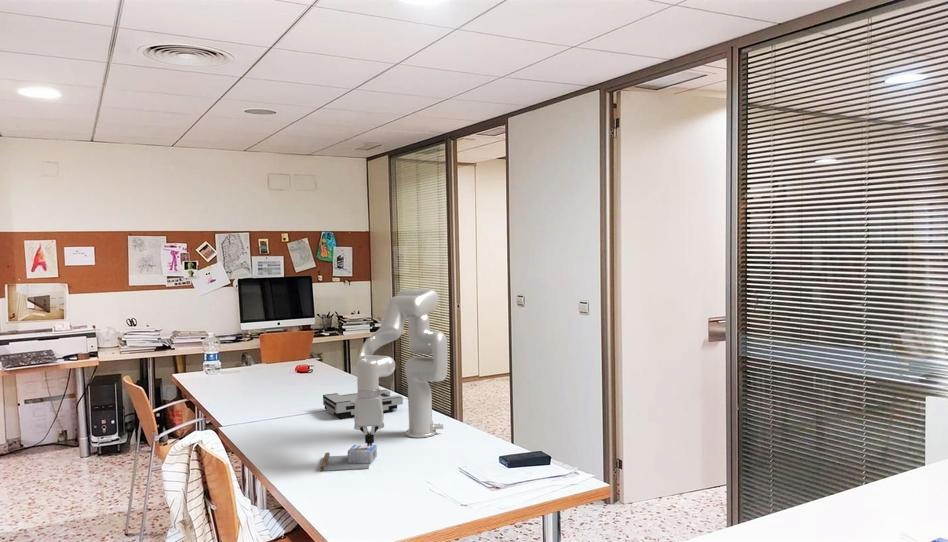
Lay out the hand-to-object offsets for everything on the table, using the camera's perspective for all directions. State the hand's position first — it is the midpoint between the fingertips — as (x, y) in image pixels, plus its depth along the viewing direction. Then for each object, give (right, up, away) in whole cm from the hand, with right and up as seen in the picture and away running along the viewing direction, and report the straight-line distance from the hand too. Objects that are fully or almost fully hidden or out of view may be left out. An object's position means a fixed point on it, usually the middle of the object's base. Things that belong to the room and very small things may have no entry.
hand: (369, 444), depth 242 cm
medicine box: (+2, -4, +1) cm, 4 cm away
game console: (-15, -5, +78) cm, 80 cm away
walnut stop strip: (-16, -7, -1) cm, 17 cm away
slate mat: (-8, -6, -1) cm, 10 cm away
